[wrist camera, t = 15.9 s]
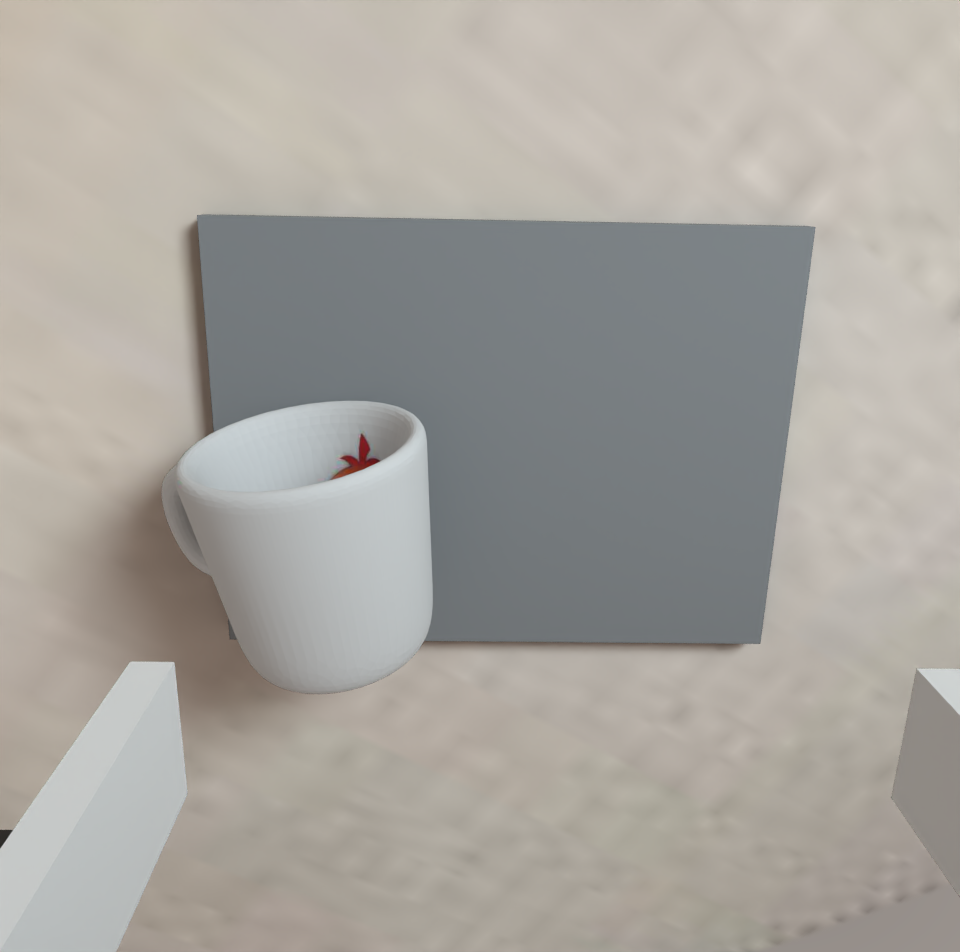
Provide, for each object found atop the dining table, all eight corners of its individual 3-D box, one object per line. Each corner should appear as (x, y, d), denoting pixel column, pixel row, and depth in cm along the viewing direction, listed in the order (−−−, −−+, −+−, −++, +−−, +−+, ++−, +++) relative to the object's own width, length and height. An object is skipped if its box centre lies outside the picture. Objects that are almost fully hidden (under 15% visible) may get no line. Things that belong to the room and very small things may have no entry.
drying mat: (806, 225, 31) (815, 227, 30) (753, 634, 36) (760, 643, 36) (203, 214, 31) (196, 215, 30) (234, 629, 36) (229, 639, 35)
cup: (124, 674, 32) (56, 470, 29) (271, 565, 38) (229, 387, 35) (371, 751, 27) (321, 512, 23) (494, 611, 33) (469, 406, 30)
